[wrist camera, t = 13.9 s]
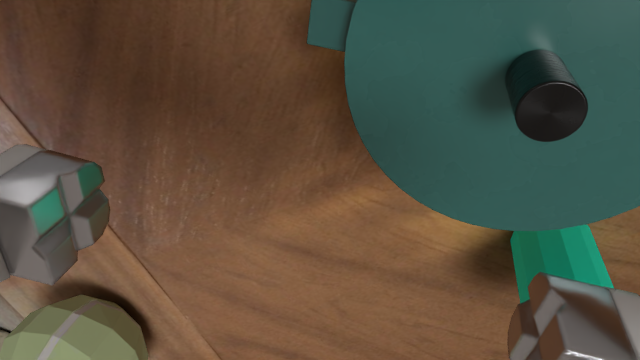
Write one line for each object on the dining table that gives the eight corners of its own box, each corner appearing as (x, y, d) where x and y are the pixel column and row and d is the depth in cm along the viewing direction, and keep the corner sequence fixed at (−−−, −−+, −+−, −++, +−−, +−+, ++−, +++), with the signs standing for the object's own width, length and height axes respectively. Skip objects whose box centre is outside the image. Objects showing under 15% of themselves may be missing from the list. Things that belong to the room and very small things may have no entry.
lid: (388, -195, 17) (366, -226, 13) (898, -127, 15) (1081, -136, 10) (327, 175, 26) (302, 229, 22) (630, 251, 24) (668, 328, 20)
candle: (496, 229, 37) (511, 350, 27) (571, 198, 34) (619, 322, 24) (531, 278, 39) (558, 408, 29) (606, 253, 36) (664, 389, 26)
